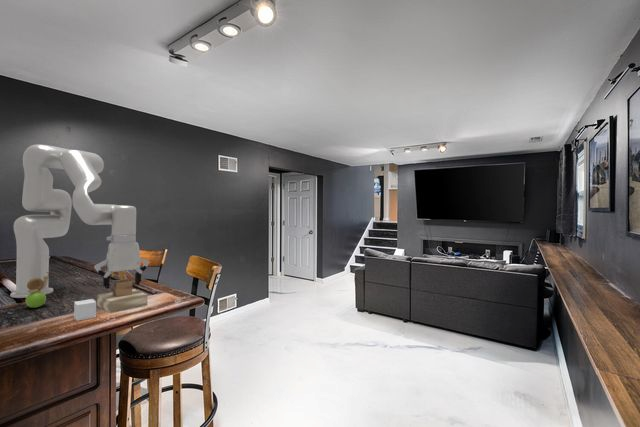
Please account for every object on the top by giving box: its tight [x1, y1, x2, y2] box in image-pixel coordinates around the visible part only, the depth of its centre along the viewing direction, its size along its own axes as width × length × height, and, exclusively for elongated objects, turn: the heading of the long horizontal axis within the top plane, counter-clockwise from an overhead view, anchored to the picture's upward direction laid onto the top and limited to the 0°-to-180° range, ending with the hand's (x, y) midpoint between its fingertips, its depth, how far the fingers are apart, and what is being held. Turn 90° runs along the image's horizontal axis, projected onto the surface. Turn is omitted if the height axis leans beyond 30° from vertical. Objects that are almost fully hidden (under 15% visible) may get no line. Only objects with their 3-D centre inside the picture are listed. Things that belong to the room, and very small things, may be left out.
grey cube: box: [73, 298, 97, 322], centre depth 102 cm, size 5×5×5 cm
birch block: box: [96, 288, 148, 314], centre depth 115 cm, size 12×12×4 cm
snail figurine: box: [25, 271, 50, 309], centre depth 110 cm, size 5×6×12 cm
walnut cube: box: [112, 278, 133, 297], centre depth 115 cm, size 5×5×5 cm
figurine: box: [111, 271, 133, 280], centre depth 129 cm, size 8×6×12 cm
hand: (122, 286), depth 115 cm, fingers open, 9 cm apart
